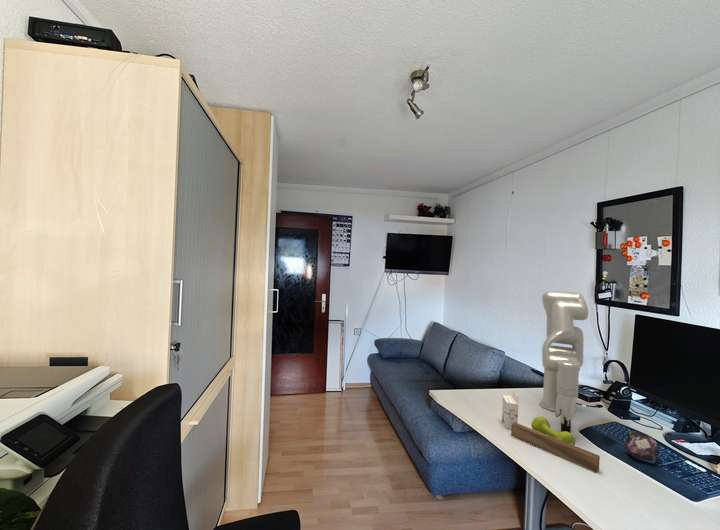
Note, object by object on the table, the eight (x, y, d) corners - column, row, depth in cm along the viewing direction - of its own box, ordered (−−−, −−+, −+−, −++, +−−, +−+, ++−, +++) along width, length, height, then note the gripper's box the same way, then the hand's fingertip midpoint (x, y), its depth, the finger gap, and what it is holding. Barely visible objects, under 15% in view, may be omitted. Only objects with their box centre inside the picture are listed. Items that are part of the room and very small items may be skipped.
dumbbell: (577, 452, 125) (578, 434, 125) (560, 454, 124) (561, 436, 124) (544, 431, 141) (545, 414, 141) (529, 432, 140) (529, 415, 140)
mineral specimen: (616, 449, 125) (622, 424, 126) (631, 456, 128) (637, 431, 130) (646, 464, 116) (653, 436, 117) (661, 470, 119) (668, 443, 121)
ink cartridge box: (501, 419, 150) (502, 388, 150) (512, 421, 149) (513, 389, 149) (505, 428, 142) (506, 395, 142) (517, 430, 141) (519, 396, 141)
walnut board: (514, 433, 138) (514, 422, 138) (599, 469, 115) (599, 455, 115) (511, 435, 136) (511, 424, 136) (596, 472, 113) (597, 458, 113)
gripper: (563, 384, 143) (562, 425, 143) (550, 391, 133) (548, 435, 134) (583, 389, 137) (581, 432, 137) (571, 398, 128) (569, 444, 128)
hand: (565, 433), depth 135 cm, fingers closed
